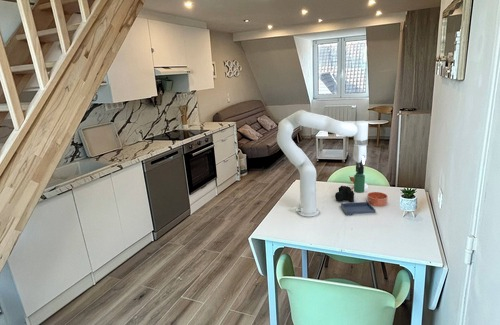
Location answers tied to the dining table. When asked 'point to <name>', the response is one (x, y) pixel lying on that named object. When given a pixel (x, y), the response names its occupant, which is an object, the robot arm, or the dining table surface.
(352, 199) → the film camera
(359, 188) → the bottle
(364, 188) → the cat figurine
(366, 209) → the tray
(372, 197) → the bowl
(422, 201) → the dining table surface
